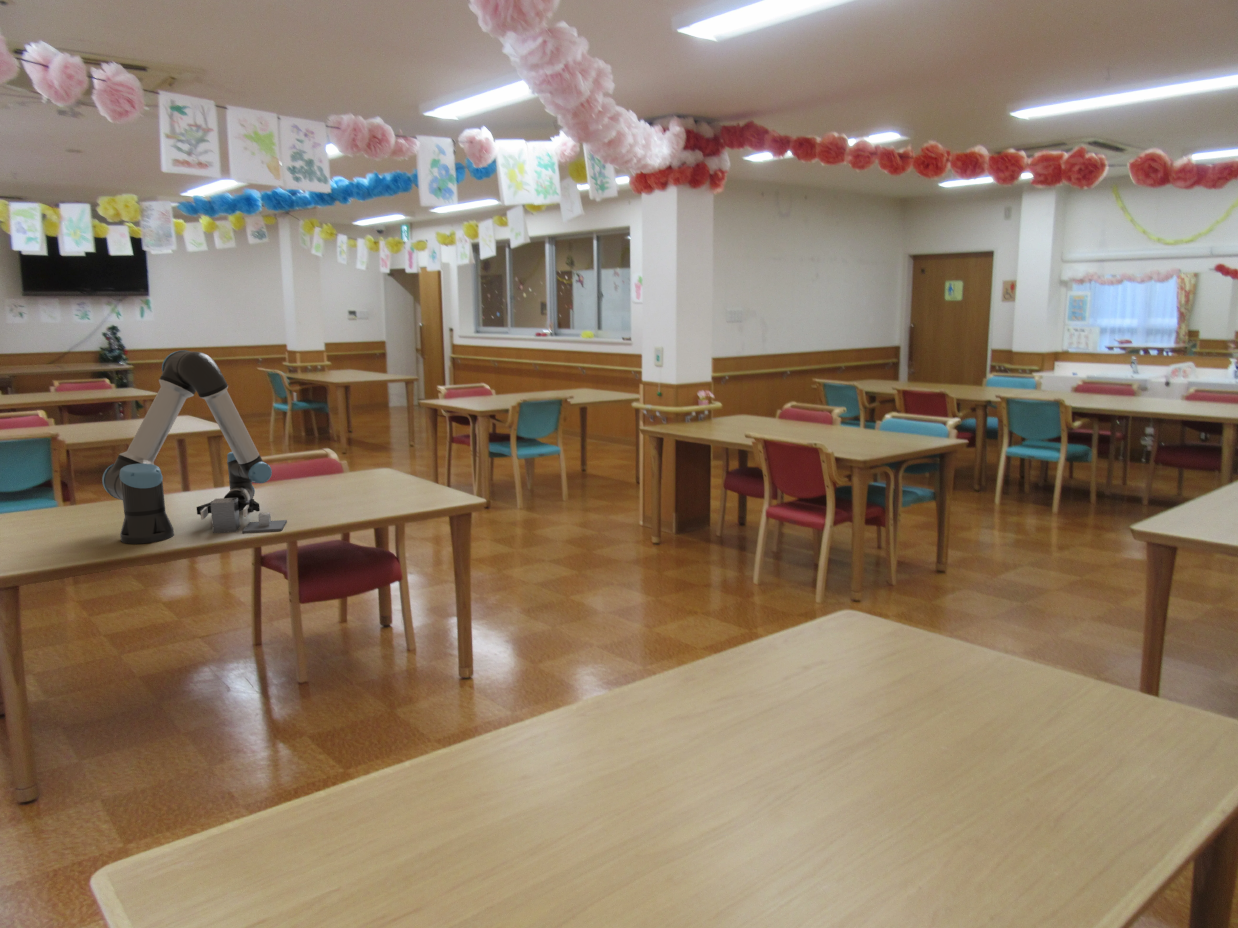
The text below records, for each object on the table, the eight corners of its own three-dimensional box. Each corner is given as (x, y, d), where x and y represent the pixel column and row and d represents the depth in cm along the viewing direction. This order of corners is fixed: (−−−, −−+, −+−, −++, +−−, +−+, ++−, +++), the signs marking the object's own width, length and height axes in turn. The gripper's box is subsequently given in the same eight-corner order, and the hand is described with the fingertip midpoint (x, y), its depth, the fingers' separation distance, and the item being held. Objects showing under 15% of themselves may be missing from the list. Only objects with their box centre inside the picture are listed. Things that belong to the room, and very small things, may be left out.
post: (259, 526, 292) (258, 514, 292) (260, 524, 295) (259, 512, 295) (269, 526, 293) (268, 514, 292) (271, 523, 296) (270, 512, 295)
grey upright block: (213, 533, 288) (210, 503, 286) (217, 527, 294) (215, 498, 293) (236, 531, 289) (233, 502, 287) (240, 526, 296) (237, 497, 294)
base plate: (242, 533, 287) (242, 530, 287) (249, 524, 299) (249, 521, 299) (281, 530, 290) (281, 528, 290) (286, 522, 301) (286, 519, 301)
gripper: (274, 508, 312) (264, 523, 291) (199, 512, 306) (184, 527, 286) (272, 487, 310) (262, 501, 290) (197, 491, 305) (181, 505, 284)
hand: (223, 514), depth 288 cm, fingers open, 12 cm apart
